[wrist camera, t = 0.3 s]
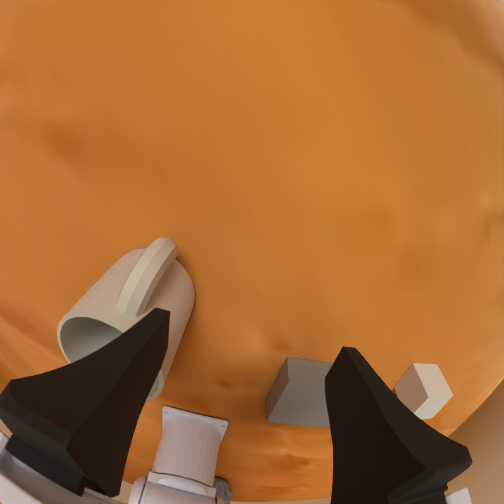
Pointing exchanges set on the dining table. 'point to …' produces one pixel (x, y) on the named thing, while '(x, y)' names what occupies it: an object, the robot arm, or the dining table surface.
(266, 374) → the dining table surface
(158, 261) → the cup
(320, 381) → the grey slab
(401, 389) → the beige block
